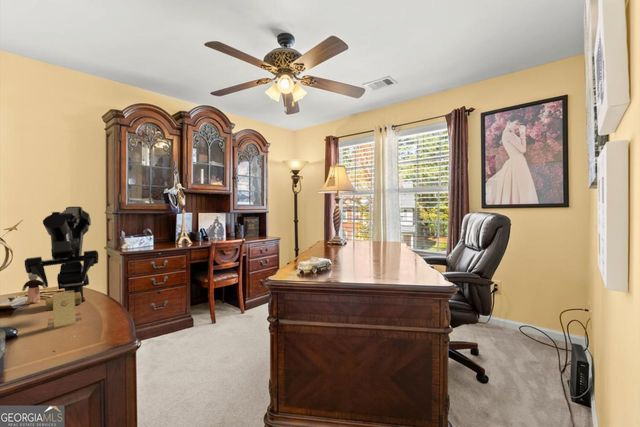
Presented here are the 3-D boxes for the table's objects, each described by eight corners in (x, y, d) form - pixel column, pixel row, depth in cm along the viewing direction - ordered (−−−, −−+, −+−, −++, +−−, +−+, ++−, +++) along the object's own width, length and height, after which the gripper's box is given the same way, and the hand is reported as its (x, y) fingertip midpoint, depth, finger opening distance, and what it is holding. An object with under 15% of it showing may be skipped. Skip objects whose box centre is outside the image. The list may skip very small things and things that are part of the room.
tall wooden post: (54, 325, 91) (52, 293, 91) (75, 320, 94) (74, 290, 94) (54, 328, 89) (52, 295, 88) (75, 324, 92) (74, 292, 92)
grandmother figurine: (19, 305, 115) (18, 273, 115) (23, 303, 118) (21, 271, 118) (46, 302, 119) (44, 271, 118) (48, 299, 122) (47, 269, 122)
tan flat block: (48, 323, 96) (47, 319, 96) (81, 317, 102) (81, 312, 102) (46, 336, 87) (46, 331, 87) (83, 328, 92) (82, 323, 92)
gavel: (87, 307, 103) (48, 316, 96) (87, 320, 103) (49, 329, 96) (79, 290, 117) (45, 296, 110) (80, 301, 118) (46, 308, 111)
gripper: (21, 234, 93) (23, 278, 86) (96, 228, 105) (101, 266, 99) (26, 251, 100) (27, 294, 93) (95, 244, 112) (100, 281, 106)
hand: (66, 283), depth 98 cm, fingers open, 9 cm apart
